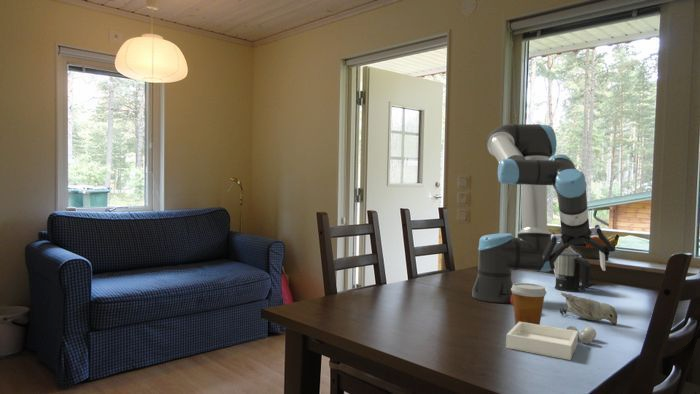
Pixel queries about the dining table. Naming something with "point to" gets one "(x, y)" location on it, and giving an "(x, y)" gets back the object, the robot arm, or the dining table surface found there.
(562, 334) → the dish
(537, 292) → the disposable coffee cup
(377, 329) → the dining table surface
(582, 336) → the pebble
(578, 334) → the pebble
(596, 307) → the decorative bird
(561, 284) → the milk frother
